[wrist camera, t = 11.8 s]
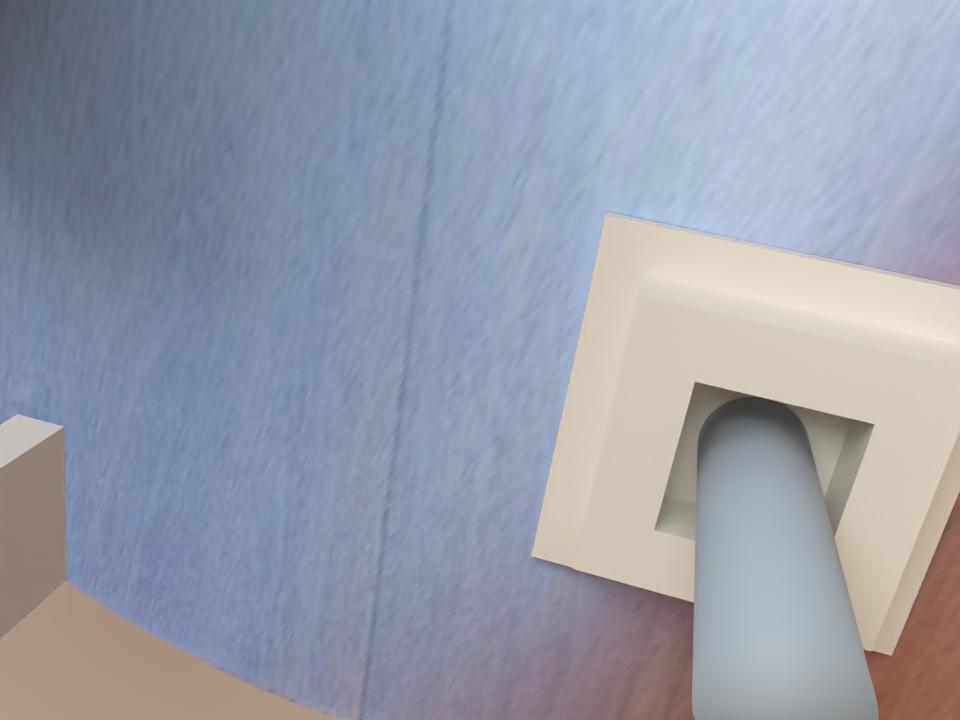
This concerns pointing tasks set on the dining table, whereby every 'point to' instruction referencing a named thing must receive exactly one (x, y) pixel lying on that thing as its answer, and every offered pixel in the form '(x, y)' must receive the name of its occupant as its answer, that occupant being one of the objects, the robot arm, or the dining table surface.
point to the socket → (755, 373)
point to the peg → (769, 578)
